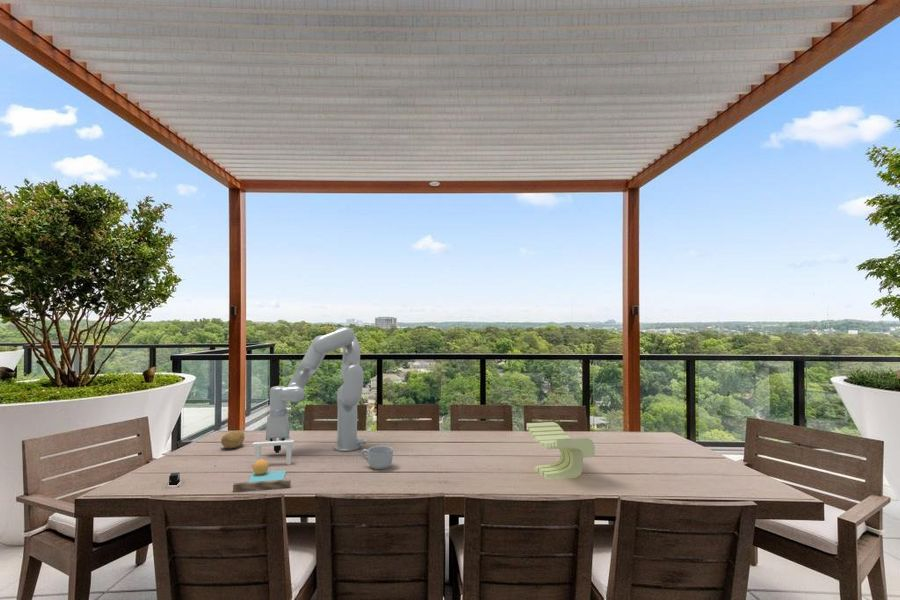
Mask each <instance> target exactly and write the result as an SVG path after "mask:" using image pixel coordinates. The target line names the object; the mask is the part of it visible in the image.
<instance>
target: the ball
mask: <svg viewBox="0 0 900 600" xmlns="http://www.w3.org/2000/svg"><path fill="white" fill-rule="evenodd" d="M269 466H270V465H269V463H268V461H267V460H266V459H262V458H261V459H260V460H258V461H256V462H255V461H254V463H253V466H252V471H253V472H254V473H256V474H258V475H262V474H264V473H266V472H268V470H269Z"/></svg>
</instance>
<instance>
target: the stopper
mask: <svg viewBox="0 0 900 600" xmlns="http://www.w3.org/2000/svg"><path fill="white" fill-rule="evenodd" d="M291 485H292V484H291V479H290V478H289V479H283V480H272V481H258V482H248V481H246V482H234V483H233V485H232V492H233V491H238V492H249V490H252V491H257V490H256V489H265V490H273V489H272V488H278V489H289V488H291Z"/></svg>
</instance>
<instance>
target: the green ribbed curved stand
mask: <svg viewBox="0 0 900 600" xmlns="http://www.w3.org/2000/svg"><path fill="white" fill-rule="evenodd" d="M526 431H527V432H528V434H530V435H531V438H533V439H534V440H533V441H534V442H536V443H537V444H539V445H540V446H543V447H544V448H545V449H547V450H551V449H553V450H554V449H555V450H557V449H558V450H559V452H560V458H559V459H558V461H556V462H552V463H549V464H543V465H542V464H541V465H534V471H535V472H537V473H538V474H539V475H541V476H543V477H544V478H545V479H546V480H547V481H549V480H550V481H552V480H561V479H563V480H564V479H573V478H575V479H576V478H579V476H581V474H582V472H583V465H584V464H583V461H584V458H587V459H588V458H595V456H596V455H595V452H596V451H595V450H596V449H595V447H596V446H595V443H594V441H593V440H592V439H591V438H588V437H580V438H572V437H570V436H569V435H567V433H566V432H565V431H564V429H563V428H562V427H561V425H560V424H558V422H555V421H554V422H553V421H547V422H546V421H544V422H526Z"/></svg>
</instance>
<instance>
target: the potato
mask: <svg viewBox="0 0 900 600" xmlns="http://www.w3.org/2000/svg"><path fill="white" fill-rule="evenodd" d="M245 437H246V435H245V433H244V431H243V430H240V429H239V430H233V431H229V432H228V433H225V434H224V435H223V436H222V437H221V440H220V442H221V445H222V446H223V447H225V448H226V449H235V448H238V447H240V446H241V445H242V444H243V442H244V441H245Z"/></svg>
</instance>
